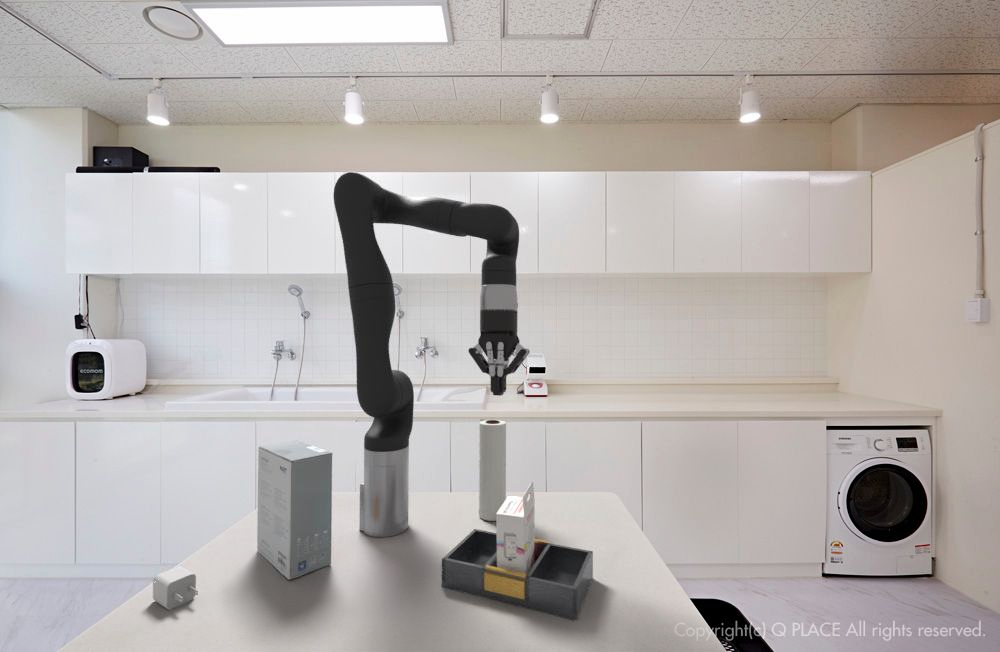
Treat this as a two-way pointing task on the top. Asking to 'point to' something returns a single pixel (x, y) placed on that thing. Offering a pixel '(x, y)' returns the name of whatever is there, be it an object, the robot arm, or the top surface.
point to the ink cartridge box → (516, 532)
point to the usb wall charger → (174, 587)
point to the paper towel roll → (492, 467)
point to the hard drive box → (294, 507)
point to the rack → (521, 575)
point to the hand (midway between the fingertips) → (498, 394)
